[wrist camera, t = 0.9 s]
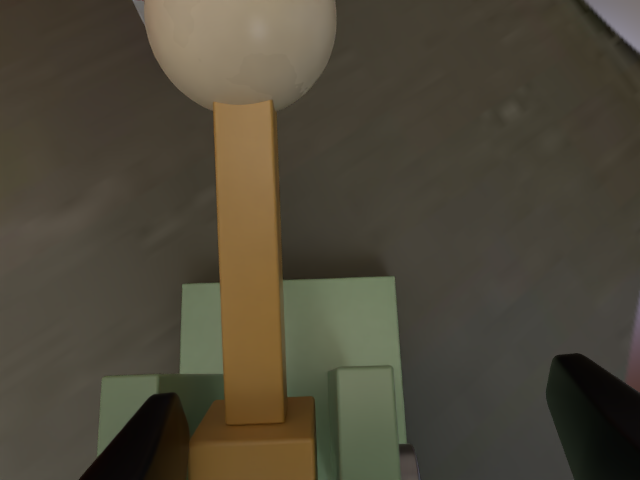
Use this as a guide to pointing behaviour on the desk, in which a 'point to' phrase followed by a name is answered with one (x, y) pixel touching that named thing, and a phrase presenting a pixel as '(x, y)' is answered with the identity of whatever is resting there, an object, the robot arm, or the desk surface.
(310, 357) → the green lever stand
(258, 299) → the lever
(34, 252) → the desk surface
